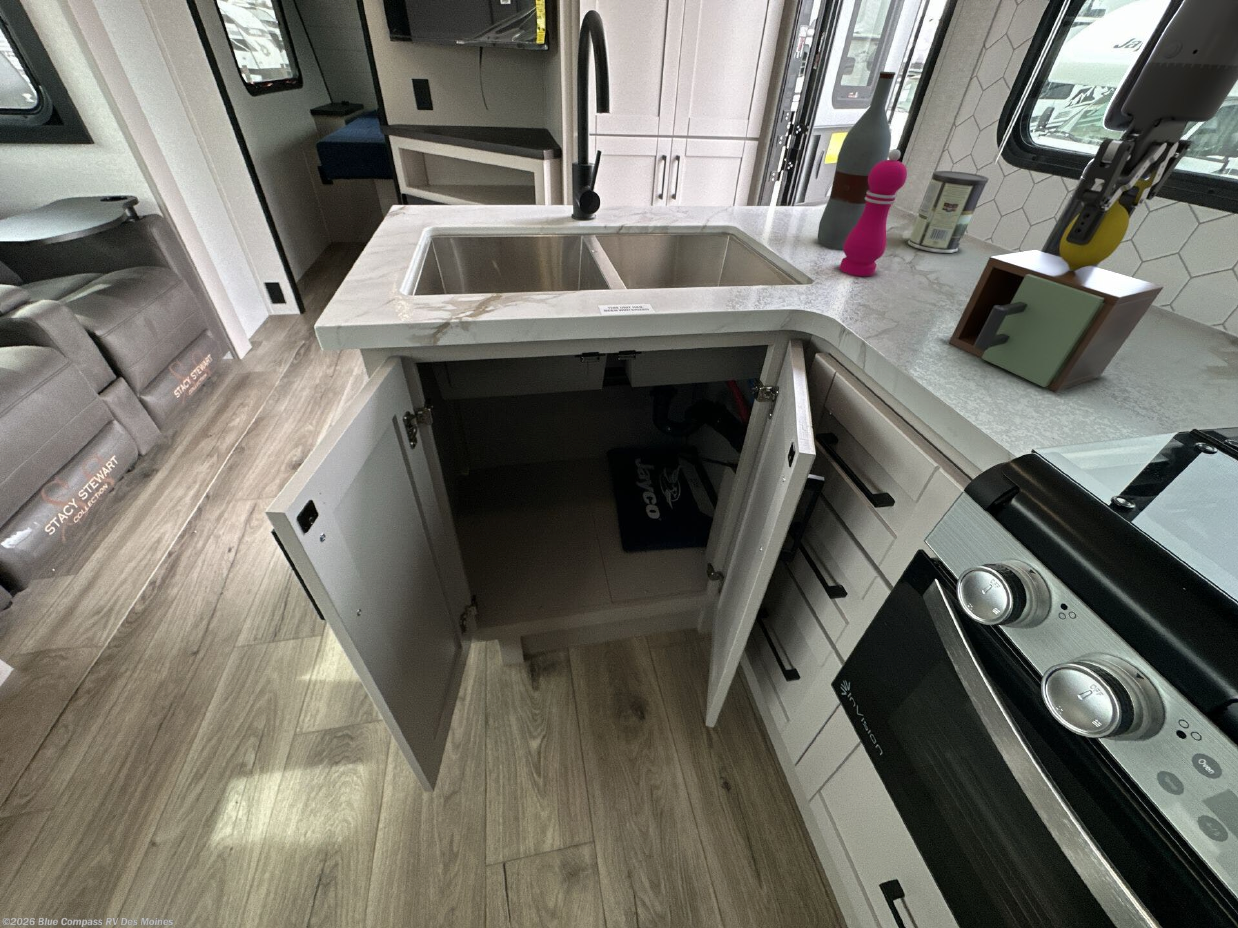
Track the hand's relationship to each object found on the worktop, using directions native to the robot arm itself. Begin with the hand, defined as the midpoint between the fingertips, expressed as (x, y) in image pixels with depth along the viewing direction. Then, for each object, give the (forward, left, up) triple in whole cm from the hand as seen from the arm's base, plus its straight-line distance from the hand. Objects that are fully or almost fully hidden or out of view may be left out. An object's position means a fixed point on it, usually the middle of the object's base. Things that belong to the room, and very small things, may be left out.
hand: (1090, 240), depth 61 cm
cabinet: (0, 0, -15) cm, 15 cm away
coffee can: (-38, -43, -16) cm, 59 cm away
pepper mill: (-7, -36, -16) cm, 40 cm away
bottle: (-17, -51, -16) cm, 56 cm away
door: (+8, +2, -15) cm, 17 cm away
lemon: (0, 0, -4) cm, 4 cm away
